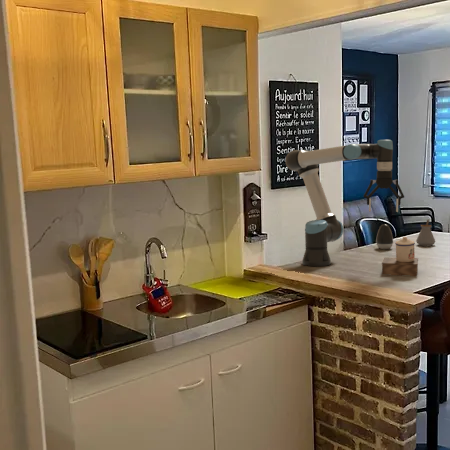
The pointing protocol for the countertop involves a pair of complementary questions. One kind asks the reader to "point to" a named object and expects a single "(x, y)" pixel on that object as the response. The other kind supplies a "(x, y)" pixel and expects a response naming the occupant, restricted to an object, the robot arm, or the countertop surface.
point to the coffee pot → (425, 236)
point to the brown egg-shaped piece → (384, 237)
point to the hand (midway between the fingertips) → (383, 211)
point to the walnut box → (399, 267)
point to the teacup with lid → (405, 250)
